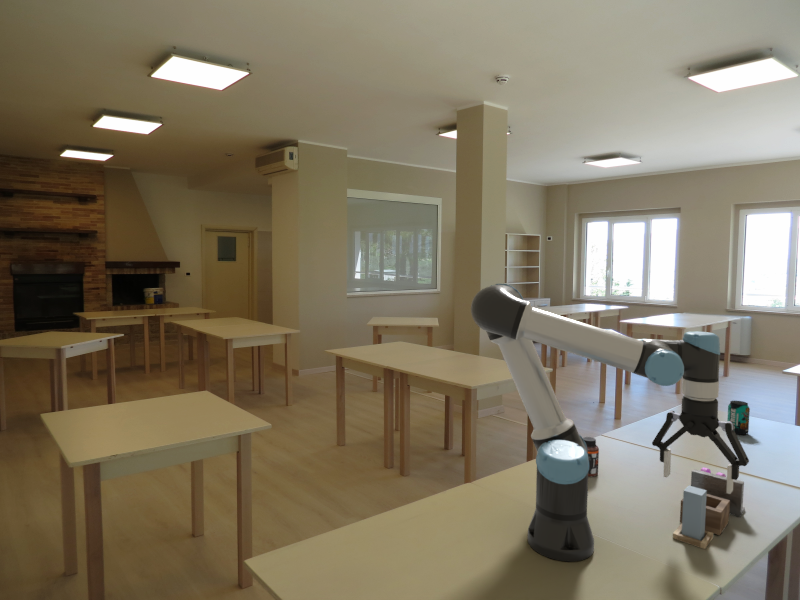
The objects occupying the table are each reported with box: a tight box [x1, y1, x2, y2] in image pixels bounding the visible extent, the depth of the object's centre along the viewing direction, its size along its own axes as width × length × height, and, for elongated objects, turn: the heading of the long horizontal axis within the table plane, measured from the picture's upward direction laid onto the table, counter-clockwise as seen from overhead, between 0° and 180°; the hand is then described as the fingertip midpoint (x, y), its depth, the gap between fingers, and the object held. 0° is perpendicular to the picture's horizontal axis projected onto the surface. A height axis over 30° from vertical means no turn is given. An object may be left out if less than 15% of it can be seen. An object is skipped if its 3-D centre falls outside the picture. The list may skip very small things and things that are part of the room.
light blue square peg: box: [682, 485, 707, 541], centre depth 126 cm, size 4×4×12 cm
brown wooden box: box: [679, 494, 730, 536], centre depth 134 cm, size 9×9×6 cm
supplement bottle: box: [582, 436, 600, 478], centre depth 164 cm, size 6×6×11 cm
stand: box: [672, 523, 714, 550], centre depth 127 cm, size 7×7×1 cm
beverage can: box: [726, 400, 751, 436], centre depth 203 cm, size 7×7×12 cm
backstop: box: [690, 468, 746, 518], centre depth 143 cm, size 5×12×9 cm, turn 46°
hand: (697, 483), depth 126 cm, fingers open, 13 cm apart
